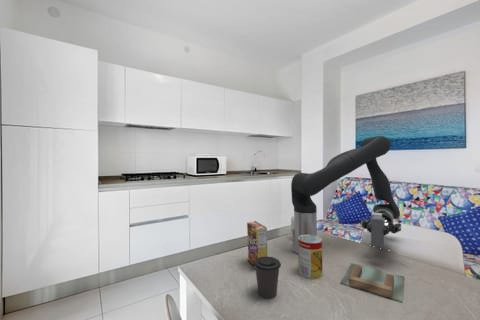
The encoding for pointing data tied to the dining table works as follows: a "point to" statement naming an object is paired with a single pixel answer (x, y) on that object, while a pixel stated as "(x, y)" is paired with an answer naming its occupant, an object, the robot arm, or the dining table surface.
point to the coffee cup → (267, 276)
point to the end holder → (374, 281)
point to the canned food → (310, 256)
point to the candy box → (256, 241)
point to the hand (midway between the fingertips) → (377, 231)
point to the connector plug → (377, 230)
